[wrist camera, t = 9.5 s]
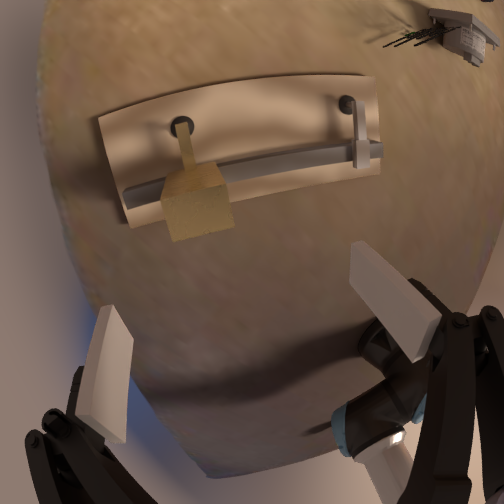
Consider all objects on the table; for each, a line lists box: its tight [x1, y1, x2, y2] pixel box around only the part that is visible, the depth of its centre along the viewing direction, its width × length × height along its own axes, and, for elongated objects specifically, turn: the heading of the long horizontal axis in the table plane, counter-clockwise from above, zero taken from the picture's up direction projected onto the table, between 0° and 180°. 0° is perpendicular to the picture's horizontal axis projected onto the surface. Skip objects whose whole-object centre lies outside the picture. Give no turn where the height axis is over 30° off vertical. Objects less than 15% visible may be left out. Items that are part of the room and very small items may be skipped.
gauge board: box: [98, 75, 383, 229], centre depth 29 cm, size 14×34×4 cm, turn 98°
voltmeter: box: [383, 8, 500, 67], centre depth 22 cm, size 27×11×10 cm, turn 126°
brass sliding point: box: [160, 122, 235, 242], centre depth 24 cm, size 8×5×11 cm, turn 8°
